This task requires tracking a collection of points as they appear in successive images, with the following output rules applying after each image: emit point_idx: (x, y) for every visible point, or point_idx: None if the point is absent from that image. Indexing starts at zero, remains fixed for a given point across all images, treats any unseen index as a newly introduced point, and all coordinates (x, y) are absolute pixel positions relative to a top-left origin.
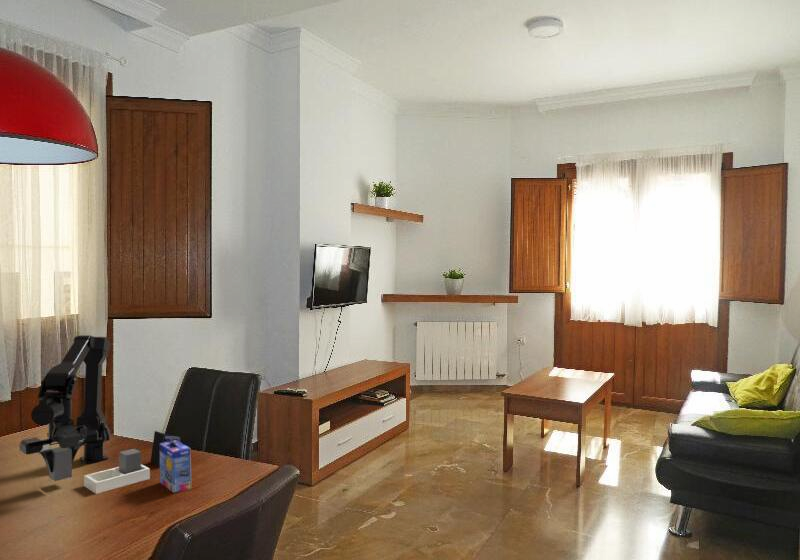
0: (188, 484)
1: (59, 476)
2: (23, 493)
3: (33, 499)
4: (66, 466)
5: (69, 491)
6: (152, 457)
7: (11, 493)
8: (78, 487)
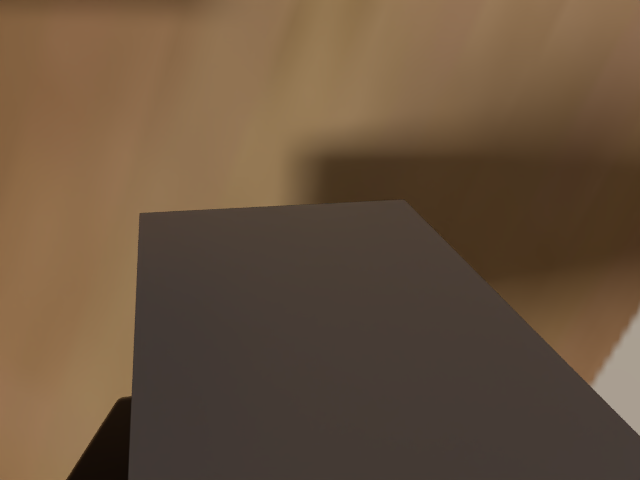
0: None
1: (359, 227)
2: (535, 310)
3: (583, 89)
4: (269, 333)
5: (217, 21)
6: None
7: (577, 364)
8: (63, 84)
